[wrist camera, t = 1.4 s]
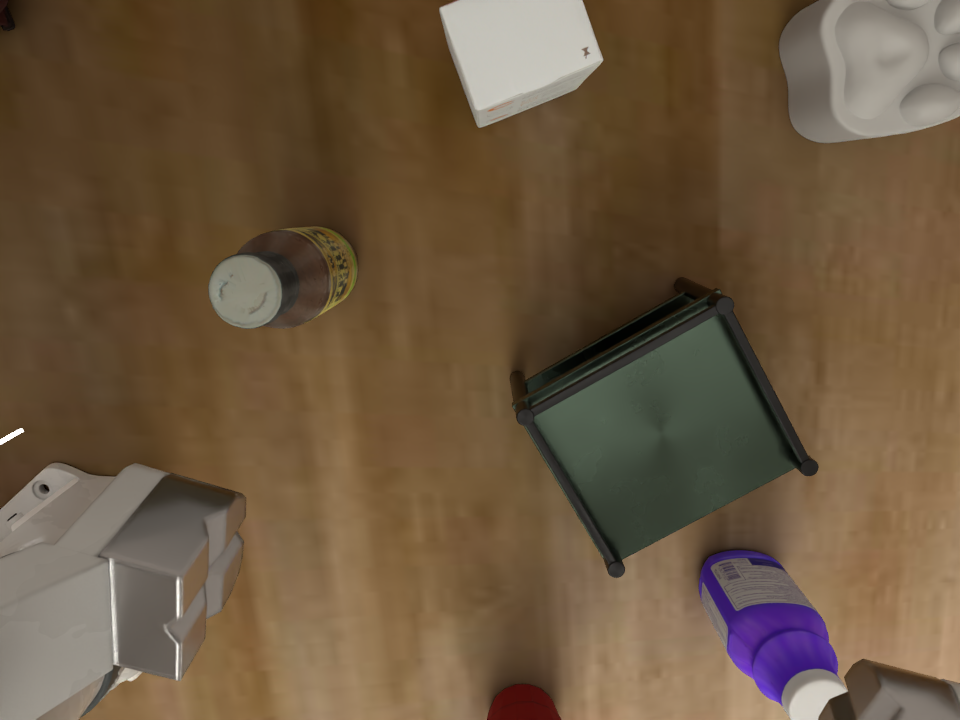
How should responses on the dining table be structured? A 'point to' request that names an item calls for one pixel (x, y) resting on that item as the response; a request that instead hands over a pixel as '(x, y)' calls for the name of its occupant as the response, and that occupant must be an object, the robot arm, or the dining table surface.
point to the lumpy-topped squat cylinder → (871, 67)
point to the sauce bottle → (284, 278)
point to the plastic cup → (523, 704)
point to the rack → (659, 422)
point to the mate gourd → (5, 16)
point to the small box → (518, 52)
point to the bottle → (771, 631)
